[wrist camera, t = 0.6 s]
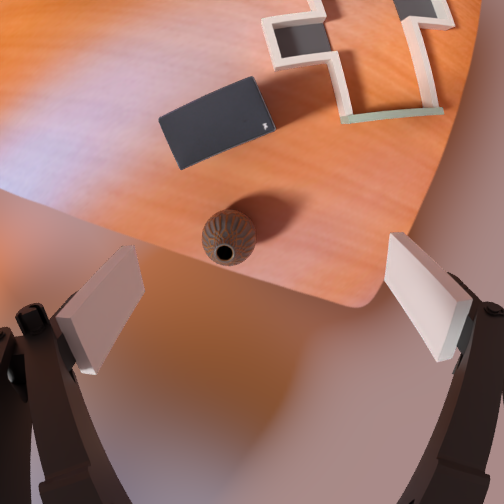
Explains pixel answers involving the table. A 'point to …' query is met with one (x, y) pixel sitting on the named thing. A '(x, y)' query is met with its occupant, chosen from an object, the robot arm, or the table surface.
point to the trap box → (319, 52)
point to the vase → (229, 237)
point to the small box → (217, 122)
